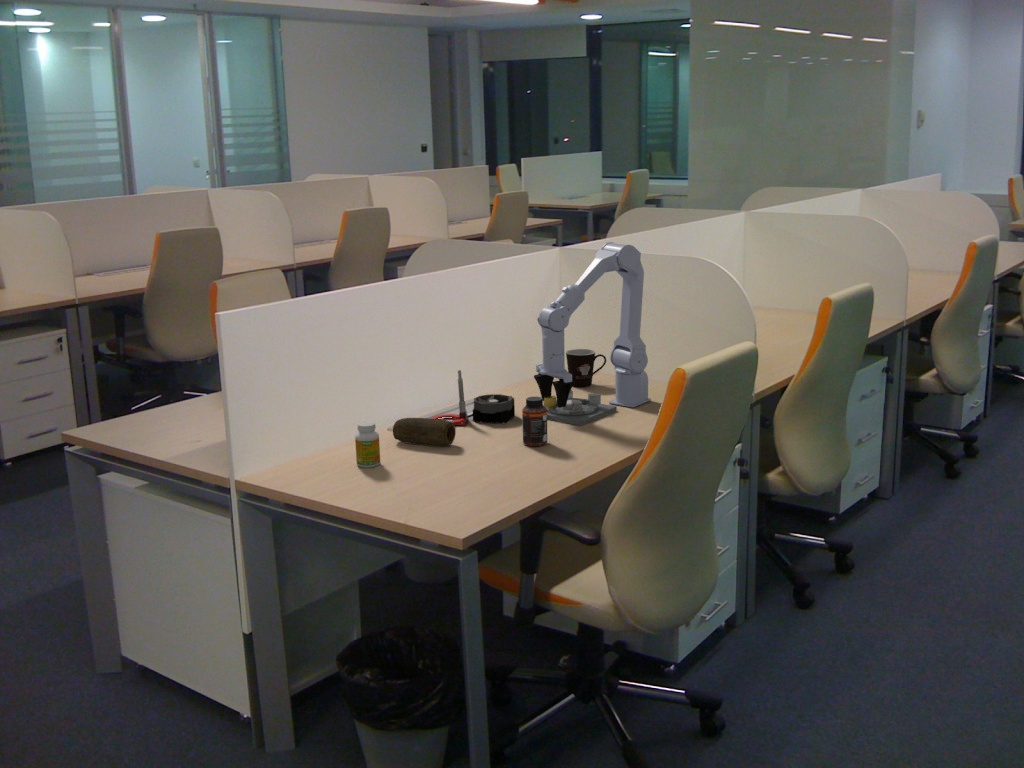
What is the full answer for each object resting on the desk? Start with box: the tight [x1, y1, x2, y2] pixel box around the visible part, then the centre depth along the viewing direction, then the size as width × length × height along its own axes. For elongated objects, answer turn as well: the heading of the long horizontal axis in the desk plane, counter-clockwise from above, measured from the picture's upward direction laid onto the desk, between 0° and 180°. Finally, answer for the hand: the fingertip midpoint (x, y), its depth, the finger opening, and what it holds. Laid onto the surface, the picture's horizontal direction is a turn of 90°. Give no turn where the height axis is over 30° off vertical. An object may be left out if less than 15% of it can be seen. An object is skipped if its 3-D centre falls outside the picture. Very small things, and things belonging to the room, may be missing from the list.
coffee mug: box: [565, 348, 607, 389], centre depth 292 cm, size 12×9×10 cm
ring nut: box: [543, 389, 602, 416], centre depth 264 cm, size 15×15×4 cm
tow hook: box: [430, 369, 469, 427], centre depth 258 cm, size 9×14×10 cm
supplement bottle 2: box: [521, 396, 549, 448], centre depth 238 cm, size 6×6×11 cm
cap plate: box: [543, 400, 618, 427], centre depth 264 cm, size 17×17×3 cm
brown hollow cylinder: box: [392, 417, 457, 447], centre depth 241 cm, size 15×7×7 cm, turn 70°
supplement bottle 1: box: [354, 420, 381, 469], centre depth 226 cm, size 5×5×10 cm
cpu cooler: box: [472, 393, 516, 425], centre depth 261 cm, size 10×6×10 cm
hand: (554, 403), depth 261 cm, fingers open, 7 cm apart
